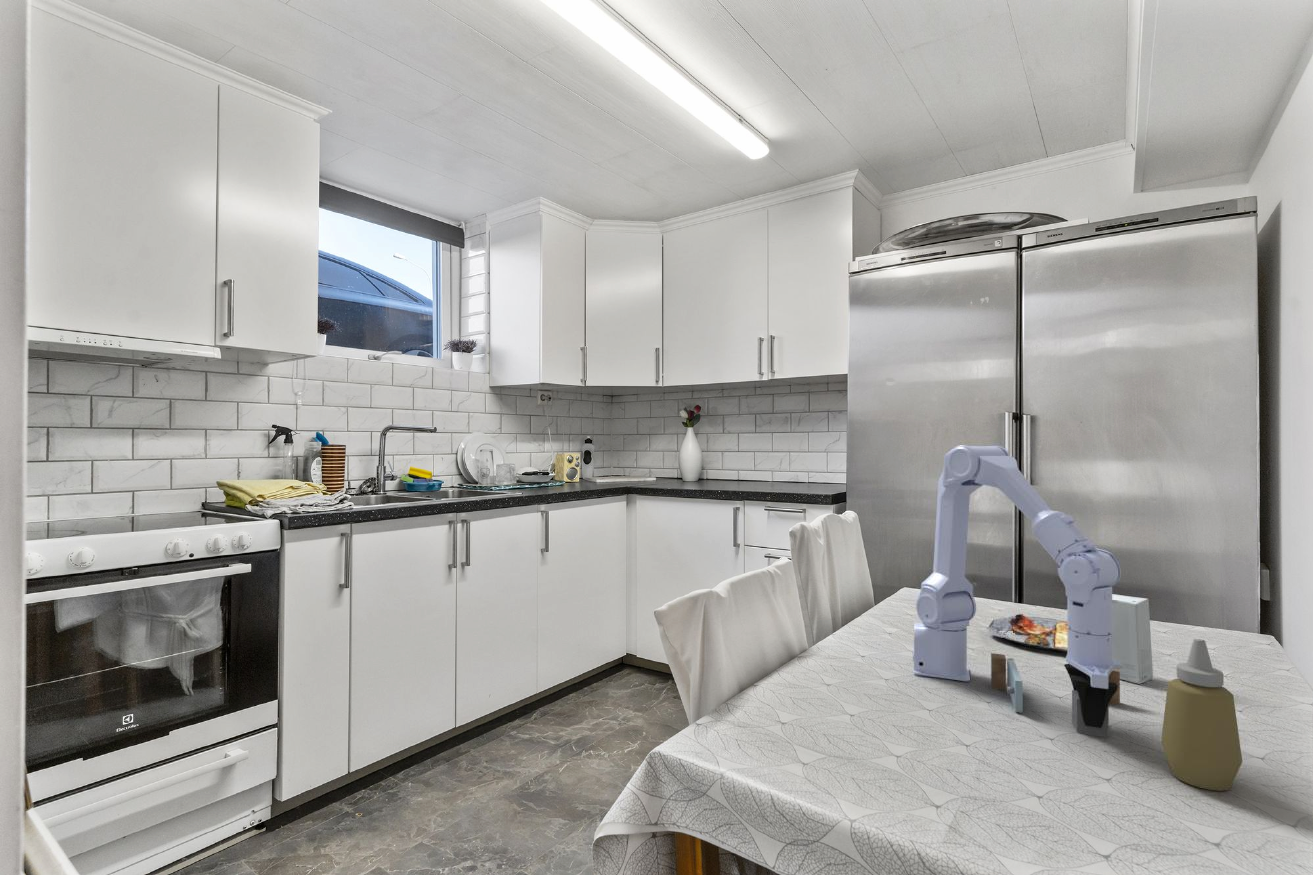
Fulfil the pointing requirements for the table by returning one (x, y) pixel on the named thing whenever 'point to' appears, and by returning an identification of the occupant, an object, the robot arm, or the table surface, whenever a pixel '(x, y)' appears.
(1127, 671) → the skincare box
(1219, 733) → the squeeze bottle
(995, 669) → the door frame
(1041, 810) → the table surface
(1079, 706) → the block
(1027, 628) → the food plate
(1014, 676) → the door
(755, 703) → the table surface
